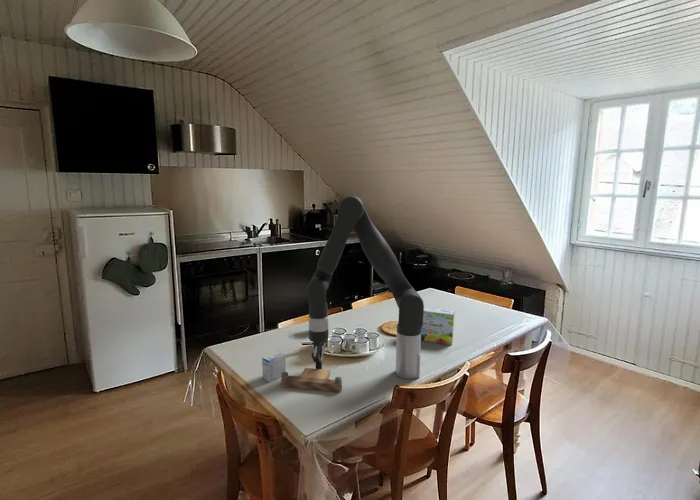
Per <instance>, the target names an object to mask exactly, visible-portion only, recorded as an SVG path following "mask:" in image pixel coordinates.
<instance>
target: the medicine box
mask: <svg viewBox="0 0 700 500" xmlns="http://www.w3.org/2000/svg"><path fill="white" fill-rule="evenodd" d="M261 367H262V379H263V380H265V381H267V382H269V383H272V382H273V381H276V380H277V379H279V378H280V379H281V378H282V373H283V372H287V371H286V368H287V367H286V354H285V353H283V352H282V351H281V352H280V351H276V352H273V353H271V354H268V355H266V356H264V357H261Z"/></svg>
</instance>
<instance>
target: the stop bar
mask: <svg viewBox="0 0 700 500" xmlns="http://www.w3.org/2000/svg"><path fill="white" fill-rule="evenodd" d="M280 386H281V387H282V388H290V389H301V390H310V391H311V390H312V391H319V392H320V391H321V392H330V393H341V392H342V390H343V378H342V377H341V376H336V377H335V378H334V379H330V378H329V379H319V378H309V377H300V376H297V375H289V372H287V371H286V372H283V373H282V377H280Z"/></svg>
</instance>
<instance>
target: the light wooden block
mask: <svg viewBox="0 0 700 500" xmlns="http://www.w3.org/2000/svg"><path fill="white" fill-rule="evenodd" d="M299 377H309V378H319V379H330V378H331V369H323V368H322V369H316V368H312V367H311V368H310V367H305V368H304V369H303V370H302V372H301V374H300V376H299Z"/></svg>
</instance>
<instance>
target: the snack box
mask: <svg viewBox="0 0 700 500" xmlns="http://www.w3.org/2000/svg"><path fill="white" fill-rule="evenodd" d="M454 327H455V310H447V309H438V308H432V307H424V315H423V326H422V328H421V342H429V343H437V344H440V345H447V346H452V345H453V340H454V330H455V329H454Z"/></svg>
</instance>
